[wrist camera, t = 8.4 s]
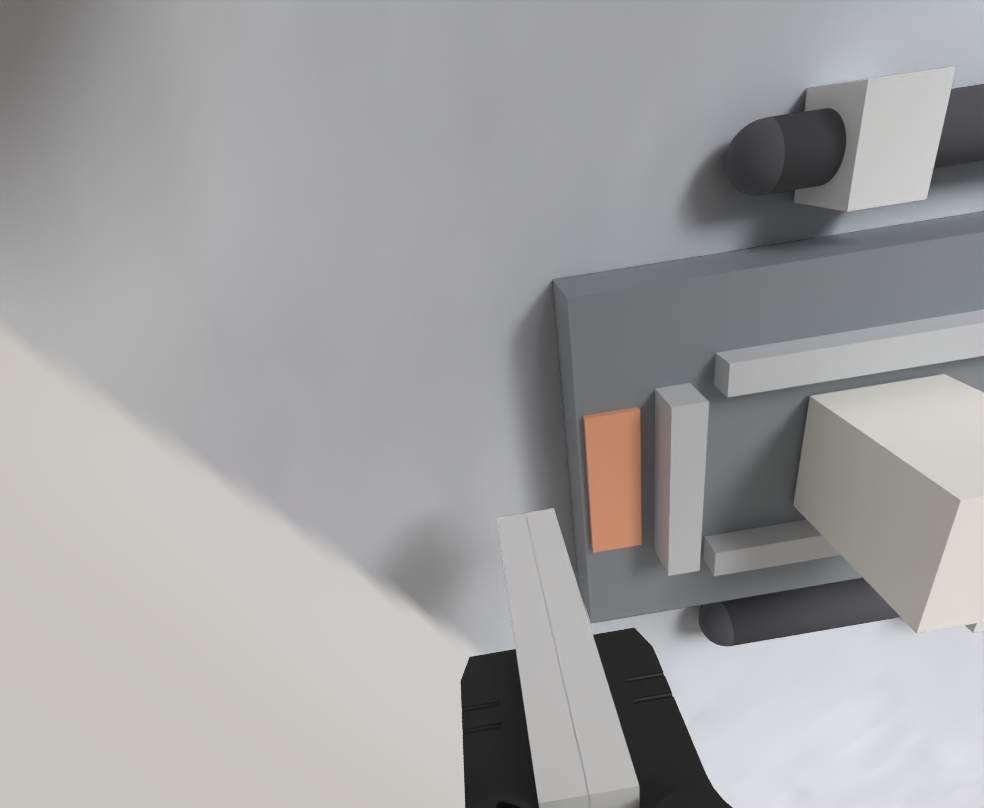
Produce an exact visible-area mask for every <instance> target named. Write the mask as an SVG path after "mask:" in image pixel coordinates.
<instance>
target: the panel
mask: <svg viewBox="0 0 984 808" xmlns="http://www.w3.org/2000/svg"><path fill="white" fill-rule="evenodd" d="M553 289H554V301H555V313H556V325H557V337H558V349H559V360H560V372H561V384H562V396H563V408H564V420H565V431H566V443H567V455H568V467H569V479H570V491H571V502H572V514H573V526H574V538H575V550H576V561H577V573H578V583H579V586H580V589H581V592H582V596H583V599H584V602H585V605H586V608H587V612H588V615H589V618H590V621H591V623H597V622H602V621H608V620H614V619H620V618H626V617H632V616H638V615H644V614H650V613H656V612H662V611H668V610H674V609H679V608H685V607H691V606H697V605H703V604H709V603H715V602H721V601H727V600H733V599H739V598H745V597H750V596H756V595H762V594H768V593H774V592H780V591H786V590H792V589H798V588H804V587H810V586H816V585H822V584H827V583H833V582H839V581H845V580H851V579H857V578H863V577H862V576H861V575H860V574H859V573H858V572H857V571H856V570H855V569H854V568H853V567H852V566H851V565H850V564H849V563H848V562H847V561H846V560H845V559H844V558H843V557H842V555H841V554H840V553H839V552H838V551H837V550H836V549H835V548H834V547H833V546H832V545H831V544H830V543H829V542H828V541H827V540H826V539H825V538H824V537H823V536H822V535H821V534H820V533H819V532H818V531H817V530H816V529H815V528H814V526H813V525H812V524H811V523H810V522H809V521H808V520H807V519H806V518H805V517H804V516H803V515H802V514H801V513H800V512H799V511H798V510H797V509H796V508H795V507H794V506H793V503H794V496H795V490H796V483H797V477H798V470H799V464H800V457H801V451H802V444H803V438H804V431H805V425H806V418H807V412H808V405H809V399H810V396H812V395H818V394H824V393H831V392H837V391H843V390H849V389H855V388H861V387H867V386H874V385H880V384H886V383H892V382H898V381H904V380H910V379H916V378H923V377H929V376H935V375H941V374H945V375H947V376H949V377H952V378H954V379H956V380H958V381H960V382H962V383H965V384H967V385H969V386H971V387H973V388H975V389H977V390H980V391H982V392H984V211H983V212H977V213H970V214H964V215H958V216H951V217H945V218H939V219H932V220H926V221H920V222H913V223H907V224H901V225H894V226H888V227H882V228H875V229H869V230H863V231H856V232H850V233H844V234H838V235H831V236H825V237H819V238H812V239H806V240H800V241H793V242H787V243H781V244H774V245H768V246H762V247H755V248H749V249H743V250H736V251H730V252H724V253H718V254H711V255H705V256H699V257H692V258H686V259H680V260H673V261H667V262H661V263H654V264H648V265H642V266H635V267H629V268H623V269H616V270H610V271H604V272H598V273H591V274H585V275H579V276H572V277H566V278H560V279H553Z"/></svg>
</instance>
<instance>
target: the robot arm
mask: <svg viewBox="0 0 984 808" xmlns="http://www.w3.org/2000/svg"><path fill="white" fill-rule="evenodd" d="M496 519H497V525H498V532H499V539H500V546H501V552H502V559H503V566H504V573H505V580H506V586H507V593H508V600H509V607H510V613H511V620H512V627H513V634H514V641H515V647H516V649H514V650H508V651H502V652H496V653H490V654H484V655H479V656H473V657H469V660H468V663H467V666H466V668H465V671H464V674H463V677H462V679H461V701H462V728H463V755H464V782H465V808H732V807H731V806H730V805H729V804H728V803H726V802H725V801H724V800H723V799H722V798H721V796H720V795H719V794H718V793H717V792H716V790H715V789H714V788H713V786H712V784H711V782H710V781H709V779H708V777H707V775H706V773H705V771H704V768H703V766H702V763H701V761H700V759H699V756H698V754H697V751H696V749H695V747H694V744H693V742H692V740H691V737H690V735H689V732H688V730H687V728H686V725H685V723H684V720H683V718H682V716H681V713H680V711H679V709H678V706H677V704H676V701H675V699H674V697H673V696H672V692H671V689H670V687H669V685H668V682H667V680H666V677H664V674H663V670H662V668H661V666H660V663H659V661H658V658H657V656H656V654H655V651H654V649H653V647H652V646H651V645H650V644H649V643H648V642H647V641H646V639H645V638H644V637H643V636H642V635H641V634H640V633H639V632H638V631H637V630H636V629H635V628H630V629H624V630H618V631H612V632H606V633H601V634H595V635H593V634H592V631H591V627H590V624H589V621H588V618H587V614H586V611H585V608H584V605H583V601H582V598H581V595H580V592H579V588H578V585H577V582H576V579H575V575H574V572H573V569H572V566H571V562H570V559H569V556H568V553H567V549H566V546H565V543H564V540H563V536H562V533H561V530H560V527H559V523H558V520H557V517H556V514H555V510H554V508H551V509H545V510H539V511H533V512H527V513H521V514H515V515H509V516H503V517H497V518H496Z"/></svg>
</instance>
